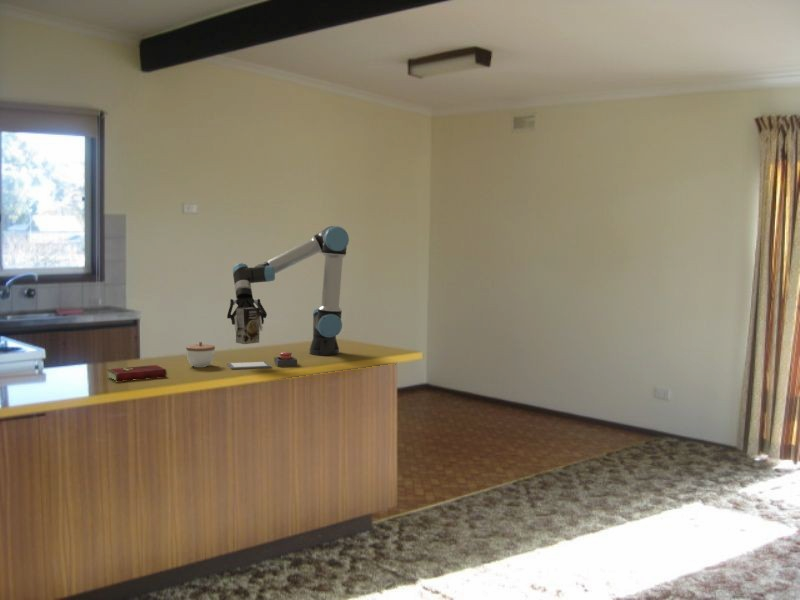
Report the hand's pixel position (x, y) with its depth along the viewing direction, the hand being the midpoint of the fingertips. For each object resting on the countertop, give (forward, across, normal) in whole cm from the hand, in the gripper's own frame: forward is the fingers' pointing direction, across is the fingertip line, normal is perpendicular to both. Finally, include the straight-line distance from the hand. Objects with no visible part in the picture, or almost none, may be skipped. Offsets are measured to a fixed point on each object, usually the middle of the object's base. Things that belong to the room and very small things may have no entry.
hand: (249, 329), depth 360 cm
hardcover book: (+21, +49, -5) cm, 53 cm away
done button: (+9, -18, -13) cm, 23 cm away
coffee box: (+3, 0, -7) cm, 7 cm away
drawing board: (+10, -1, -14) cm, 18 cm away
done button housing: (+10, -18, -14) cm, 25 cm away
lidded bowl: (+6, +20, -19) cm, 28 cm away
